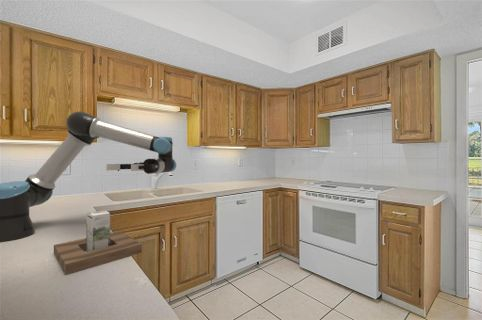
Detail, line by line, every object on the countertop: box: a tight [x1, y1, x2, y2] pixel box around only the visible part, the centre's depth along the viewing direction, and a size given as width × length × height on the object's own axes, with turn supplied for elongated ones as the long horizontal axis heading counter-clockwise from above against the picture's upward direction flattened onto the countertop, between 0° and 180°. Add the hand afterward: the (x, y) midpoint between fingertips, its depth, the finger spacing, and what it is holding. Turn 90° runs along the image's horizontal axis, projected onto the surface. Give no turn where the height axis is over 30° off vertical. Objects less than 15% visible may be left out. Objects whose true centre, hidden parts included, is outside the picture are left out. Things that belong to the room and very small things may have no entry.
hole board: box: [53, 230, 143, 275], centre depth 82 cm, size 22×22×3 cm
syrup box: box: [85, 210, 111, 252], centre depth 82 cm, size 6×6×14 cm
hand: (119, 167), depth 98 cm, fingers open, 13 cm apart
